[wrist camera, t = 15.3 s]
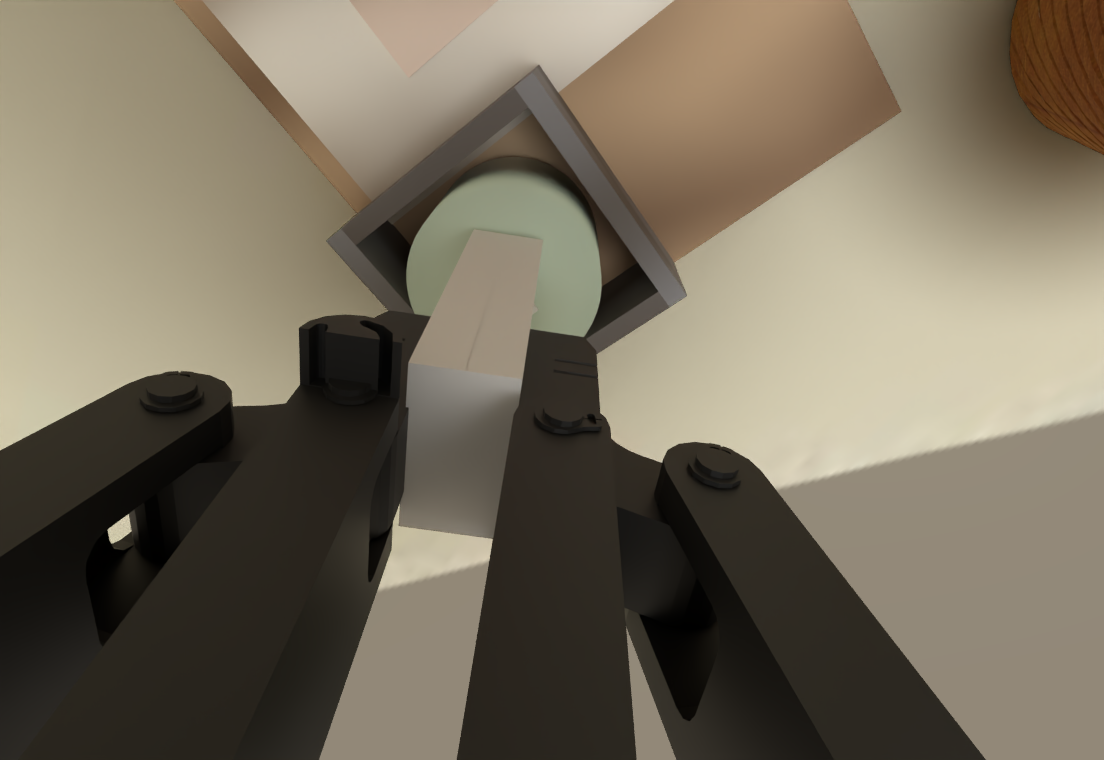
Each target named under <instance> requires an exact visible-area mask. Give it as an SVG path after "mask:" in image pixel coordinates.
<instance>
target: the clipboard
mask: <svg viewBox="0 0 1104 760" xmlns="http://www.w3.org/2000/svg"><path fill="white" fill-rule="evenodd" d="M174 1H175V3H176V4H177V5H178V6H179V7H180V8H181V10H182V11H183V12H184V13H185V14H186V15H187V17H188V18H189V19H190V20H191V21H192V22H193V24H194V25H195V26H196V27H197V28H198V29H199V30H200V32H201V33H202V34H203V35H204V36H205V37H206V39H207V40H208V41H209V42H210V43H211V44H212V46H213V47H214V48H215V49H216V50H217V51H218V53H219V54H220V55H221V56H222V57H223V58H224V60H225V61H226V62H227V63H228V64H229V65H230V66H231V68H232V69H233V70H234V71H235V72H236V73H237V75H238V76H239V77H240V78H241V79H242V80H243V82H244V83H245V84H246V85H247V86H248V87H249V89H250V90H251V91H252V92H253V93H254V94H255V96H256V97H257V98H258V99H259V100H260V101H261V102H262V104H263V105H264V106H265V107H266V108H267V109H268V111H269V112H270V113H271V114H272V115H273V116H274V118H275V119H276V120H277V121H278V122H279V123H280V125H281V126H282V127H283V128H284V129H285V130H286V131H287V133H288V134H289V135H290V136H291V137H292V138H293V140H294V141H295V142H296V143H297V144H298V145H299V147H300V148H301V149H302V150H303V151H304V152H305V154H306V155H307V156H308V157H309V158H310V159H311V161H312V162H313V163H314V164H315V165H316V166H317V167H318V169H319V170H320V171H321V172H322V173H323V174H324V176H325V177H326V178H327V179H328V180H329V181H330V183H331V184H332V185H333V186H334V187H335V188H336V190H337V191H338V192H339V193H340V194H341V195H342V197H343V198H344V199H345V200H346V201H347V202H348V203H349V205H350V206H351V207H352V208H353V209H354V210H355V212H356V213H357V214H356V215H355V216H354V217H353V218H351V219H350V220H349V221H348V222H347V223H346V224H345V225H344V226H342V227H341V228H340V229H339V230H338V231H337V232H336V233H334V234H333V235H332V236H331V237H330V238H329V239H328V240H327V241H326V242H327V243H328V244H329V245H330V246H331V247H332V248H333V249H334V250H335V252H336V253H337V254H338V255H339V256H340V257H341V258H342V259H343V261H344V262H345V263H346V264H347V265H348V266H349V267H350V268H351V269H352V271H353V272H354V273H355V274H356V275H357V276H358V277H359V278H360V279H361V281H362V282H363V283H364V284H365V285H366V286H367V287H368V288H369V290H370V291H371V292H372V293H373V294H374V295H375V296H376V297H377V298H378V300H379V301H380V302H381V303H382V304H383V305H384V306H385V307H386V308H387V310H388V311H389V310H391V311H398V312H405V313H411V314H415V313H414V311H413V309H412V306H411V303H410V299H409V296H408V290H407V282H406V270H407V262H408V257H409V253H410V249H411V246H412V244H413V241H414V239H415V237H416V235H417V233H418V232H419V230H420V228H421V227H422V225H423V224H424V222H425V221H426V220H427V218H428V217H429V216H430V214H431V213H432V212H433V210H434V209H435V208H436V206H437V205H438V204H439V202H440V201H441V200H442V198H443V197H444V196H445V194H446V193H447V192H448V190H449V189H450V188H451V187H452V185H453V184H454V183H455V182H456V181H457V180H458V179H459V178H460V177H461V176H462V175H463V174H465V173H466V172H467V171H469V170H470V169H472V168H473V167H475V166H477V165H479V164H482V163H484V162H487V161H490V160H493V159H498V158H503V157H523V158H530V159H534V160H538V161H541V162H543V163H546V164H549V165H550V166H552V167H554V168H556V169H558V170H559V171H561V172H562V173H563V174H565V175H566V176H568V177H569V178H570V179H571V180H572V181H573V182H574V183H575V184H576V185H577V187H578V188H579V189H580V190H581V191H582V193H583V194H584V196H585V198H586V199H587V201H588V203H589V205H590V207H591V210H592V212H593V215H594V219H595V222H596V229H597V237H598V247H599V257H600V267H601V284H602V289H601V297H600V303H599V307H598V310H597V313H596V316H595V318H594V321H593V323H592V325H591V326H590V328H589V330H588V331H587V333H586V334H585V336H584V337H585V338H586V340H587V341H588V342H589V343H590V344H591V345H592V346H593V348H594V349H595V350H596V354H598V353H599V352H601V351H602V350H604V349H605V348H607V347H608V346H610V345H612V344H613V343H615V342H616V341H618V340H619V339H621V338H622V337H624V336H626V335H627V334H629V333H630V332H632V331H633V330H635V329H636V328H638V327H640V326H641V325H643V324H644V323H646V322H647V321H649V320H650V319H652V318H654V317H655V316H657V315H658V314H660V313H661V312H663V311H664V310H666V309H668V308H669V307H671V306H672V305H674V304H675V303H677V302H678V301H680V300H682V299H683V298H685V297H686V296H687V294H686V292H685V289H684V287H683V284H682V282H681V279H680V277H679V274H678V272H677V269H676V267H675V264H674V262H676V261H677V260H679V259H680V258H682V257H683V256H685V255H686V254H688V253H689V252H691V251H692V250H694V249H695V248H697V247H698V246H700V245H701V244H703V243H704V242H706V241H707V240H709V239H710V238H712V237H713V236H715V235H716V234H718V233H719V232H721V231H722V230H724V229H725V228H727V227H728V226H730V225H731V224H733V223H734V222H736V221H737V220H739V219H740V218H742V217H743V216H745V215H746V214H748V213H749V212H751V211H752V210H754V209H755V208H757V207H758V206H760V205H761V204H763V203H764V202H766V201H767V200H769V199H770V198H772V197H773V196H775V195H776V194H778V193H779V192H781V191H782V190H784V189H785V188H787V187H788V186H790V185H791V184H793V183H794V182H796V181H797V180H799V179H800V178H802V177H803V176H805V175H807V174H808V173H810V172H811V171H813V170H814V169H816V168H817V167H819V166H820V165H822V164H823V163H825V162H826V161H828V160H829V159H831V158H832V157H834V156H835V155H837V154H838V153H840V152H841V151H843V150H844V149H846V148H847V147H849V146H850V145H852V144H853V143H855V142H856V141H858V140H859V139H861V138H862V137H864V136H865V135H867V134H868V133H870V132H871V131H873V130H874V129H876V128H877V127H879V126H880V125H882V124H883V123H885V122H886V121H888V120H889V119H891V118H892V117H894V116H895V115H897V114H898V113H900V112H901V109H900V107H899V105H898V103H897V101H896V99H895V97H894V95H893V93H892V91H891V89H890V87H889V85H888V83H887V81H886V79H885V77H884V75H883V72H882V70H881V68H880V66H879V64H878V62H877V60H876V58H875V56H874V54H873V52H872V50H871V48H870V46H869V44H868V42H867V40H866V38H865V36H864V33H863V31H862V29H861V27H860V25H859V23H858V21H857V19H856V17H855V15H854V13H853V11H852V9H851V7H850V5H849V3H848V1H847V0H174Z"/></svg>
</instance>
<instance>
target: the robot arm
mask: <svg viewBox="0 0 1104 760" xmlns="http://www.w3.org/2000/svg"><path fill="white" fill-rule="evenodd" d="M542 244H543V240H541V239H534V238H528V237H521V236H515V235H508V234H502V233H495V232H489V231H482V230H476V229H474V230H473V232H472V234H471V236H470V238H469V240H468V242H467V244H466V246H465V248H464V250H463V252H462V254H461V256H460V258H459V260H458V263H457V265H456V267H455V269H454V271H453V273H452V275H451V277H450V279H449V281H448V283H447V285H446V287H445V289H444V291H443V293H442V295H441V297H440V299H439V301H438V303H437V305H436V307H435V309H434V311H433V313H432V315H431V316H425V315H418V314H411V313H405V312H398V311H391V310H389V311H387V312H385V313H383V314H381V315H379V316H377V317H375V318H371V317H367V316H357V315H336V316H325V317H322V318H318V319H315V320H311V321H309V322H307V323H306V324H304V325H303V326H301V327H300V328H299V348H300V386H299V387H298V388H297V389H296V391H295V392H294V393H293V395H292V396H291V397H290V399H289V400H288V401H287V403H285V404H278V405H267V406H236V407H233V403H232V391H231V389H230V388H229V387H228V386H227V384H226V383H225V382H224V381H221V380H219V379H217V378H215V377H212V376H210V375H204V374H198V373H194V372H187V371H181V373H178V371H173V372H165V373H163V374H159V375H153V376H148V377H145V378H142V379H139V380H137V381H134V382H131V383H129V384H127V385H125V386H123V387H121V388H119V389H117V390H115V391H113V392H111V393H109V394H107V395H106V396H104V397H102V398H100V399H98V400H96V401H94V402H92V403H90V404H88V405H86V406H85V407H83V408H81V409H79V410H77V411H75V412H73V413H71V414H69V415H67V416H65V417H64V418H62V419H60V420H58V421H56V422H54V423H52V424H50V425H48V426H46V427H44V428H43V429H41V430H39V431H37V432H35V433H33V434H31V435H29V436H27V437H25V438H23V439H22V440H20V441H18V442H16V443H14V444H12V445H10V446H8V447H6V448H4V449H2V450H1V451H0V760H319V758H320V755H321V752H322V749H323V746H324V743H325V740H326V738H327V735H328V731H329V729H330V726H331V723H332V720H333V717H334V714H335V711H336V709H337V705H338V703H339V700H340V697H341V694H342V691H343V688H344V685H345V682H346V679H347V677H348V674H349V671H350V668H351V665H352V662H353V659H354V656H355V653H356V651H357V648H358V645H359V641H360V639H361V636H362V633H363V630H364V627H365V624H366V622H367V619H368V615H369V613H370V610H371V607H372V604H373V601H374V598H375V595H376V593H377V590H378V587H379V584H380V581H381V578H382V575H383V572H384V569H385V566H386V564H387V561H388V558H389V555H390V552H391V546H392V527H393V520H394V517H395V514H396V512H397V509H398V506H399V504H400V513H399V526H403V527H410V528H418V529H425V530H432V531H440V532H447V533H454V534H462V535H469V536H477V537H484V538H491V539H493V543H492V549H491V555H490V561H489V567H488V573H487V580H486V585H485V591H484V598H483V604H482V609H481V616H480V622H479V628H478V634H477V640H476V647H475V653H474V658H473V664H472V670H471V677H470V682H469V688H468V696H467V701H466V707H465V713H464V719H463V725H462V731H461V737H460V744H459V749H458V755H457V760H636V747H635V736H634V722H633V709H632V697H631V685H630V672H629V661H628V646H627V634H626V627H627V629H628V632H629V635H630V637H631V640H632V643H633V645H634V648H635V651H636V653H637V656H638V659H639V661H640V664H641V667H642V669H643V672H644V675H645V677H646V680H647V683H648V685H649V688H650V691H651V693H652V696H653V698H654V701H655V704H656V706H657V709H658V712H659V715H660V717H661V720H662V723H663V725H664V728H665V730H666V733H667V736H668V738H669V741H670V744H671V746H672V749H673V751H674V754H675V757H676V760H986V759H985V758H984V757H983V756H982V754H981V753H980V752H979V750H978V749H977V748H976V747H975V745H974V744H973V743H972V741H971V740H970V739H969V738H968V736H967V735H966V734H965V732H964V731H963V730H962V729H961V727H960V726H959V725H958V723H957V722H956V721H955V720H954V718H953V717H952V716H951V715H950V713H949V712H948V711H947V709H946V708H945V707H944V705H943V704H942V703H941V702H940V700H939V699H938V698H937V696H936V695H935V694H934V693H933V691H932V690H931V689H930V687H929V686H928V685H927V684H926V682H925V681H924V680H923V678H922V677H921V676H920V675H919V673H918V672H917V671H916V669H915V668H914V667H913V666H912V664H911V663H910V662H909V660H908V659H907V658H906V657H905V655H904V654H903V653H902V652H901V650H900V649H899V648H898V646H897V645H896V644H895V643H894V641H893V640H892V639H891V637H890V636H889V635H888V633H887V632H886V631H885V630H884V628H883V627H882V626H881V624H880V623H879V622H878V621H877V619H876V618H875V617H874V615H873V614H872V613H871V612H870V610H869V609H868V608H867V606H866V605H865V604H864V603H863V601H862V600H861V599H860V598H859V596H858V595H857V594H856V592H855V591H854V590H853V588H852V587H851V586H850V585H849V583H848V582H847V581H846V579H845V578H844V577H843V576H842V574H841V573H840V572H839V570H838V569H837V568H836V567H835V565H834V564H833V563H832V562H831V560H830V559H829V558H828V556H827V555H826V554H825V552H824V551H823V550H822V549H821V548H820V546H819V545H818V544H817V542H816V541H815V540H814V538H812V536H811V535H810V533H809V532H808V531H807V529H806V528H805V527H804V525H803V524H802V523H801V522H800V520H799V519H798V518H797V517H796V515H795V514H794V513H793V511H792V510H791V509H790V508H789V506H788V505H787V504H786V502H785V501H784V500H783V498H782V497H781V496H780V495H779V494H778V492H777V491H776V489H775V488H774V487H773V486H772V484H771V483H770V482H769V480H768V479H767V478H766V477H765V475H764V474H763V473H762V471H761V470H760V469H758V468H757V467H756V466H755V465H754V464H753V463H752V462H751V461H750V460H749V459H747V458H745V457H743V456H741V455H740V454H738V453H736V452H734V451H733V450H731V449H729V448H726V447H720V445H716V444H712V443H709V444H707V443H698V442H692V443H683V444H678V445H676V446H674V447H672V448H671V449H669V450H668V451H667V453H666V455H665V457H664V459H663V462H662V463H661V462H658V461H655V460H652V459H649V458H646V457H643V456H640V455H638V454H636V453H633V452H631V451H628V450H627V449H625V448H623V447H622V446H620V445H618V444H617V443H616V442H614V441H613V440H612V439H611V431H610V426H609V424H608V422H607V420H606V418H605V417H604V416H603V415H602V414H600V402H599V386H598V379H597V378H598V370H597V354H596V350H595V349H594V348H593V346H592V345H591V344H590V343H589V342H588V341H587V340H586V338H585V337H581V336H574V335H567V334H560V333H554V332H547V331H540V330H534V329H530V327H531V320H532V313H533V306H534V300H535V293H536V286H537V279H538V272H539V265H540V258H541V251H542ZM128 514H129V518H130V524H131V530H132V532H130V533H129V534H128V535H126V536H125V537H124V538H123V539H121V540H119V541H117V542H115V543H113V544H111V542H110V541H109V536H108V531H107V530H108V529H109V528H110V527H111V526H112V525H114V524H115V523H117V522H118V521H119V520H121V519H122V518H123V517H125V516H126V515H128Z"/></svg>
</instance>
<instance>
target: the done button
mask: <svg viewBox="0 0 1104 760" xmlns="http://www.w3.org/2000/svg"><path fill="white" fill-rule="evenodd" d="M474 229H476V230H482V231H489V232H495V233H502V234H508V235H515V236H521V237H528V238H534V239H541V240H543V244H542V251H541V258H540V265H539V272H538V279H537V286H536V293H535V300H534V306H533V313H532V320H531V327H530V329H534V330H540V331H547V332H554V333H560V334H567V335H574V336H581V337H584V336H585V334H586V333H587V331H588V330H589V328H590V326H591V325H592V323H593V321H594V318H595V316H596V313H597V310H598V307H599V303H600V297H601V289H602V284H601V267H600V257H599V247H598V237H597V229H596V222H595V219H594V215H593V212H592V210H591V207H590V205H589V203H588V201H587V199H586V198H585V196H584V194H583V193H582V191H581V190H580V189H579V188H578V187H577V185H576V184H575V183H574V182H573V181H572V180H571V179H570V178H569V177H568V176H566V175H565V174H563V173H562V172H561V171H559V170H558V169H556V168H554V167H552V166H550V165H549V164H546V163H543V162H541V161H538V160H534V159H530V158H523V157H503V158H498V159H493V160H490V161H487V162H484V163H482V164H479V165H477V166H475V167H473V168H472V169H470V170H469V171H467V172H466V173H465V174H463V175H462V176H461V177H460V178H459V179H458V180H457V181H456V182H455V183H454V184H453V185H452V187H451V188H450V189H449V190H448V192H447V193H446V194H445V196H444V197H443V198H442V200H441V201H440V202H439V204H438V205H437V206H436V208H435V209H434V210H433V212H432V213H431V214H430V216H429V217H428V218H427V220H426V221H425V222H424V224H423V225H422V227H421V228H420V230H419V232H418V233H417V235H416V237H415V239H414V241H413V244H412V246H411V249H410V253H409V257H408V262H407V270H406V282H407V290H408V296H409V299H410V303H411V306H412V309H413V311H414V313H415V314H418V315H425V316H431V315H432V313H433V311H434V309H435V307H436V305H437V303H438V301H439V299H440V297H441V295H442V293H443V291H444V289H445V287H446V285H447V283H448V281H449V279H450V277H451V275H452V273H453V271H454V269H455V267H456V265H457V263H458V260H459V258H460V256H461V254H462V252H463V250H464V248H465V246H466V244H467V242H468V240H469V238H470V236H471V234H472V232H473V230H474Z"/></svg>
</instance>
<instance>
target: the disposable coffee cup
mask: <svg viewBox="0 0 1104 760" xmlns="http://www.w3.org/2000/svg"><path fill="white" fill-rule="evenodd" d="M1010 60H1011V70H1012V75H1013V78H1014V81H1015V84H1016V87H1017V90H1018V93H1019V95H1020V97H1021V98H1022V100H1023V101H1024V102H1025V104H1026V105H1027V107H1028V108H1029V110H1030V111H1031V112H1032V114H1033V115H1034V117H1036V118H1037V119H1038V120H1039V121H1040V122H1041V123H1042V124H1043V125H1045V126H1046V127H1047V128H1049V129H1051V130H1053V131H1055V132H1057V133H1059V134H1061V135H1063V136H1065V137H1067V138H1070V139H1072V140H1074V141H1076V142H1078V143H1080V144H1082V145H1084V146H1086V147H1088V148H1090V149H1093V150H1095V151H1097V152H1099V153H1101V154H1103V155H1104V0H1017V4H1016V7H1015V11H1014V15H1013V18H1012V27H1011V41H1010Z"/></svg>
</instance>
